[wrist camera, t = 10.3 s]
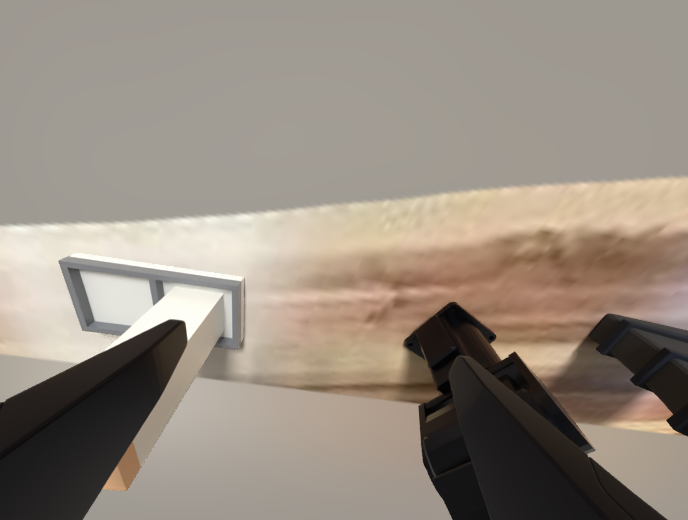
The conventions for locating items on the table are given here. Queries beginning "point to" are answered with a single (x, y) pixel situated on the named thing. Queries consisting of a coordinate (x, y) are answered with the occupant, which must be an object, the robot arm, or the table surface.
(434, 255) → the table surface
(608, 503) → the robot arm
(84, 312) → the organiser
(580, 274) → the table surface
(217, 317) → the block
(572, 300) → the table surface
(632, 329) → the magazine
